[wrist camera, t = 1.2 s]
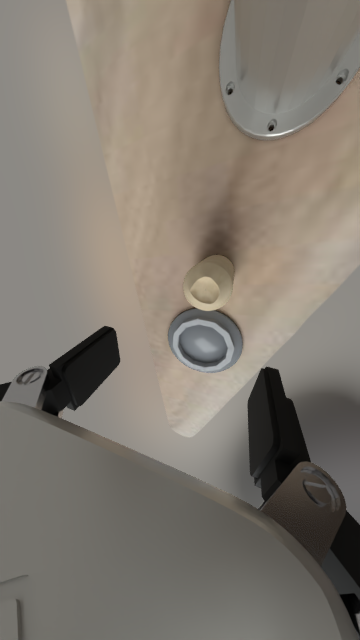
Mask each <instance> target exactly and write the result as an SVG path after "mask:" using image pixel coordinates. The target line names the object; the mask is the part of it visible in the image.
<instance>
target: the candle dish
mask: <svg viewBox="0 0 360 640" xmlns="http://www.w3.org/2000/svg"><path fill="white" fill-rule="evenodd" d="M168 341H169V345H170V348H171V350H172V352H173V354H174V355H175V356H176V357H177V359H178V360H179V361H181V362H182V363H183V364H184V365H186V366H188V367H189V368H191V369H194V370H197V371H200V372H206V373H215V372H220V371H224V370H226V369H228V368H230V367H231V366H233V365H234V364H235V363H236V362H237V360H238V359H239V357H240V355H241V352H242V337H241V333H240V331H239V329H238V327H237V326H236V325H235V323H234V322H233V321H232V320H231V319H230V318H229V317H227V316H226V315H224V314H222V313H221V312H218V311H216V310H212V311H204V310H200V309H197V308H194V309H190V310H187V311H185V312H183V313H181V314H180V315H179V316H177V317H176V318H175V320H174V321H173V322H172V324H171V326H170V328H169V332H168Z"/></svg>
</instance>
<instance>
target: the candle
mask: <svg viewBox="0 0 360 640" xmlns="http://www.w3.org/2000/svg"><path fill="white" fill-rule="evenodd" d="M233 281H234V267H233V265H232V263H231V261H230V260H229V259H228V258H226V257H224V256H222V255H212V256H209V257H207V258H205V259H204V260H203V261H201V262H200V263H198V264H197V265H195V266H194V267H192V268H191V269H190V270H189V271H188V273H187V274H186V276H185V278H184V282H183V290H184V294H185V297H186V299H187V300H188V301H189V303H190V304H191V305H193V306H194V307H196V308H197V309H200V310H204V311H212V310H216V309H219V308H221V307H222V306H224V305H225V304H226V303H227V301H228V300H229V298H230V296H231V294H232V289H233Z"/></svg>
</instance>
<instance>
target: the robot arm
mask: <svg viewBox="0 0 360 640" xmlns="http://www.w3.org/2000/svg"><path fill="white" fill-rule="evenodd" d="M359 68H360V0H231V1H230V5H229V9H228V12H227V16H226V19H225V23H224V27H223V33H222V39H221V44H220V57H219V75H220V87H221V93H222V99H223V102H224V105H225V108H226V111H227V113H228V115H229V117H230V119H231V121H232V122H233V123H234V125H235V126H236V127H237V128H238V129H239V130H240V131H241V132H243V133H244V134H246V135H247V136H249V137H252V138H255V139H258V140H275V139H280V138H284V137H287V136H289V135H291V134H294V133H296V132H298V131H300V130H301V129H303V128H304V127H306V126H307V125H309V124H311V123H312V122H313V121H314V120H315V119H317V118H318V117H319V116H320V115H321V114H322V113H324V112H325V111H326V110H327V109H328V108H329V107H330V106H331V104H332V103H333V102H334V101H335V100H336V99H337V98H338V97H339V96H340V95H341V93H342V92H343V91H344V89H345V88H346V87H347V85H348V84H349V83H350V81H351V80H352V78H353V77H354V75H355V74H356V72H357V71H358V69H359ZM337 81H340V85H339V84H337V83H336V82H337ZM230 92H233V93H232V94H231V95H228V94H229V93H230ZM270 127H273V131H269V130H268V129H269V128H270ZM119 363H120V356H119V349H118V343H117V336H116V331H115V330H114V328H111V327H108V326H104V327H102V328H101V329H99V330H98V331H97V332H95V333H94V334H92V335H91V336H89V337H88V338H87V339H85V340H84V341H82V342H81V343H80V344H78V345H77V346H75V347H74V348H72V349H71V350H70V351H68V352H67V353H65V354H64V355H62V356H61V357H60V358H58V359H57V360H55V361H54V362H53V363H51V364H50V365H49V366H50V369H48V370H47V369H46V368H45V367H43V366H36V367H32V368H29V369H26V370H24V371H22V372H21V373H19V374H18V375H17V376H16V377H15V378H14V379H13V381H12V382H9V383H5V384H1V385H0V640H360V525H359V524H358V523H357V521H356V520H355V519H354V518H353V517H352V516H351V515H350V514H349V513H348V512H347V510H346V502H345V499H344V496H343V494H342V492H341V490H340V488H339V486H338V485H337V483H336V482H335V481H334V480H333V479H332V478H331V476H330V475H329V474H328V473H327V472H326V471H324V470H323V469H322V468H321V467H319V466H317V465H315V464H314V463H311V461H310V458H309V454H308V451H307V447H306V444H305V441H304V437H303V434H302V430H301V427H300V424H299V420H298V417H297V414H296V410H295V407H294V404H293V401H292V400H291V399H289V398H286V396H285V392H284V389H283V385H282V381H281V377H280V374H279V370H277V369H273V368H270V367H266V368H265V369H263V368H262V369H261V371H260V373H259V375H258V378H257V380H256V383H255V385H254V387H253V390H252V392H251V395H250V397H249V400H248V429H249V456H250V474H251V476H252V477H254V480H255V481H254V482H255V486H257V487H259V488H261V489H262V497H263V499H264V502H263V503H262V504H261V506H260V507H259V508H258V509H257V508H255V507H253V506H252V505H250V504H248V503H246V502H245V501H243V500H241V499H239V498H237V497H235V496H233V495H231V494H229V493H227V492H225V491H223V490H221V489H218V488H216V487H214V486H212V485H210V484H208V483H206V482H203V481H201V480H199V479H197V478H195V477H193V476H191V475H188V474H186V473H184V472H182V471H179V470H177V469H175V468H173V467H170V466H168V465H166V464H164V463H161V462H159V461H157V460H155V459H152V458H150V457H148V456H146V455H144V454H141V453H139V452H137V451H134V450H132V449H130V448H128V447H125V446H123V445H121V444H119V443H116V442H114V441H112V440H110V439H107V438H105V437H102V436H100V435H98V434H96V433H94V432H91V431H89V430H87V429H84V428H82V427H80V426H77V425H75V424H73V423H71V422H68V421H66V420H63V419H62V415H63V409H64V408H65V407H66V406H67V407H68V408H70V409H72V410H74V411H75V410H76V409H77V408H78V407H79V406H81V405H82V404H83V403H84V402H85V401H86V400H87V399H88V398H89V397H90V396H91V395H92V393H93V392H94V391H95V390H96V389H97V388H98V387H99V386H100V384H102V383H103V381H104V380H105V379H106V378H107V377H108V376H109V375H110V374H111V373H112V371H113V370H114V369H115V368H116V367H117V366H118V365H119Z"/></svg>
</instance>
